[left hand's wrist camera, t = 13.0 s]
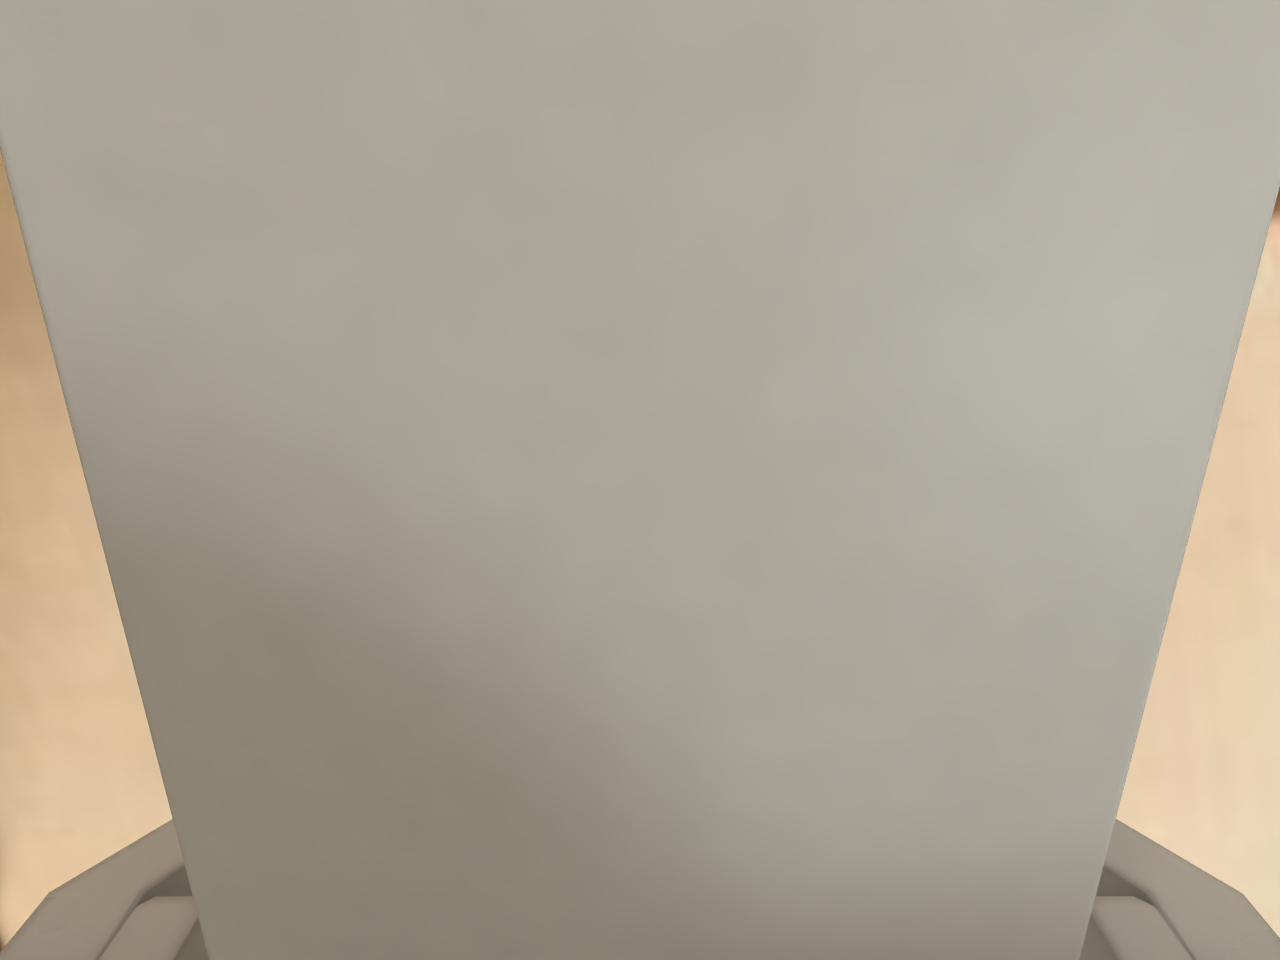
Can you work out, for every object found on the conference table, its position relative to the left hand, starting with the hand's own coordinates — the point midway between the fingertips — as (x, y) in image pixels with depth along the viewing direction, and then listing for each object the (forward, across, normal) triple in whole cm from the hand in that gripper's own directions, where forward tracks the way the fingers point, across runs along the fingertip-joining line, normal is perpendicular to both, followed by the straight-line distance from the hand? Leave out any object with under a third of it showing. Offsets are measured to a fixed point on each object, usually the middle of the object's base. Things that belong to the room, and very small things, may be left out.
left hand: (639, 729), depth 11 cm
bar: (+3, 0, -7) cm, 8 cm away
